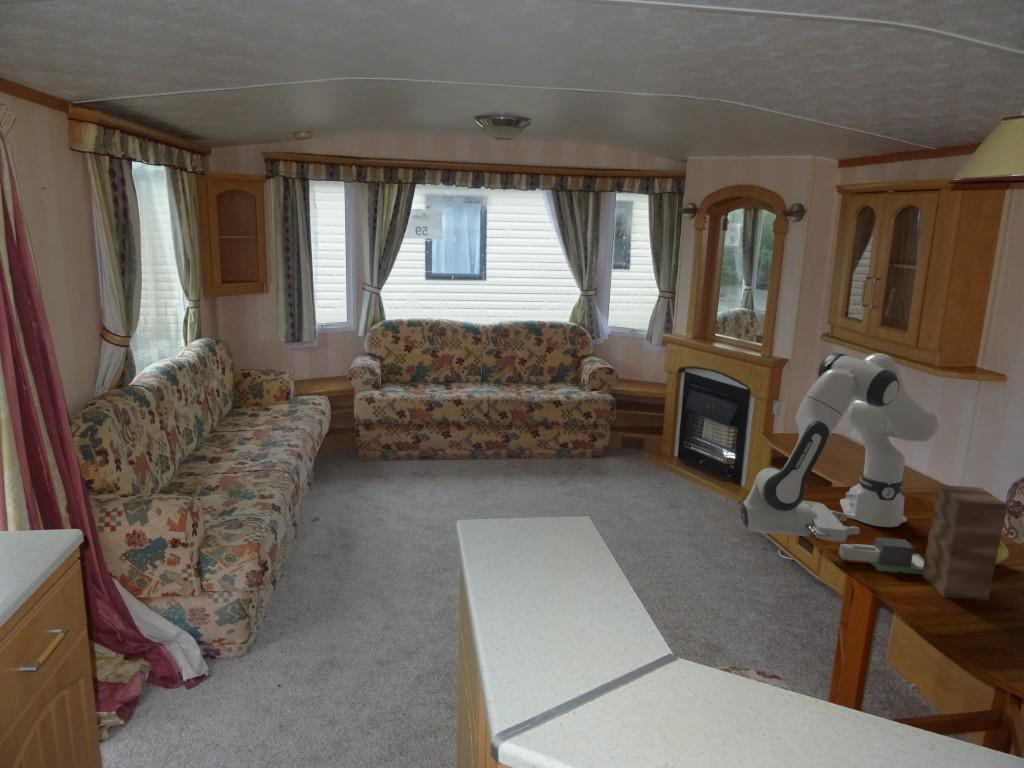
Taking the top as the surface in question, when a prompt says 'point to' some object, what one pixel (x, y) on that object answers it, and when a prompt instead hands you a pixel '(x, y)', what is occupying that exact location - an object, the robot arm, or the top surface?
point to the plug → (880, 552)
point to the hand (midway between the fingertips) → (852, 523)
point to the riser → (963, 541)
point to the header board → (915, 566)
